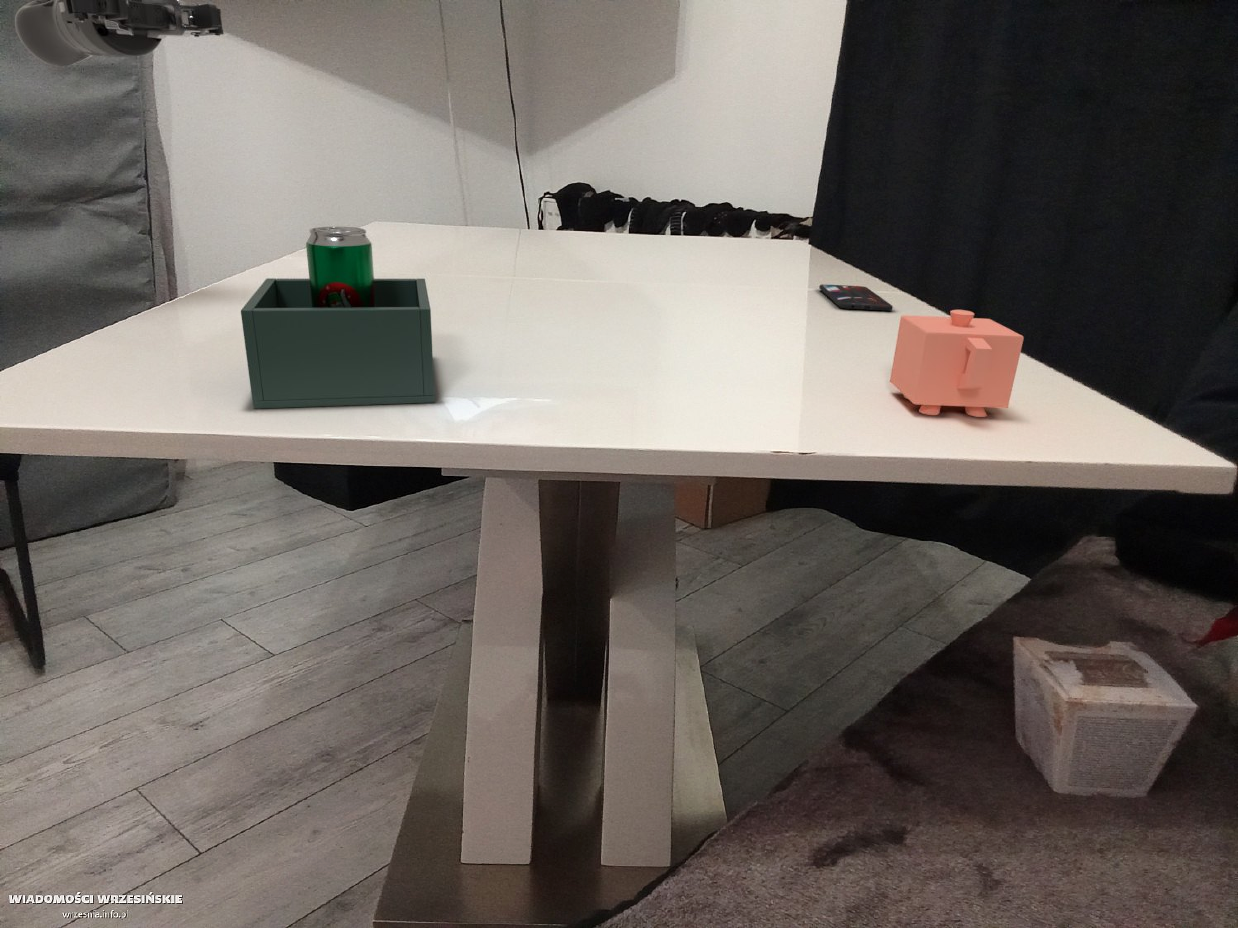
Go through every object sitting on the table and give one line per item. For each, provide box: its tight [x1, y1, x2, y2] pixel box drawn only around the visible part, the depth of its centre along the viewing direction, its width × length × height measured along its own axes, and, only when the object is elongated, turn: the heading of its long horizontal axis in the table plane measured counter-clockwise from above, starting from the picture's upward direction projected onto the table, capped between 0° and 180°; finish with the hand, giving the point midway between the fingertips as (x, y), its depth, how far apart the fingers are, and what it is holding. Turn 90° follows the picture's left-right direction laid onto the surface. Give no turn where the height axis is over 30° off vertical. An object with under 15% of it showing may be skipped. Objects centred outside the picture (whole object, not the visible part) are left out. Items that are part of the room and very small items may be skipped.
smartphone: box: [818, 283, 894, 311], centre depth 117 cm, size 7×1×15 cm
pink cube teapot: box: [889, 309, 1025, 418], centre depth 71 cm, size 8×12×8 cm, turn 0°
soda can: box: [305, 226, 376, 308], centre depth 69 cm, size 5×5×12 cm
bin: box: [240, 277, 436, 410], centre depth 70 cm, size 14×14×8 cm
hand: (170, 11), depth 81 cm, fingers open, 8 cm apart
